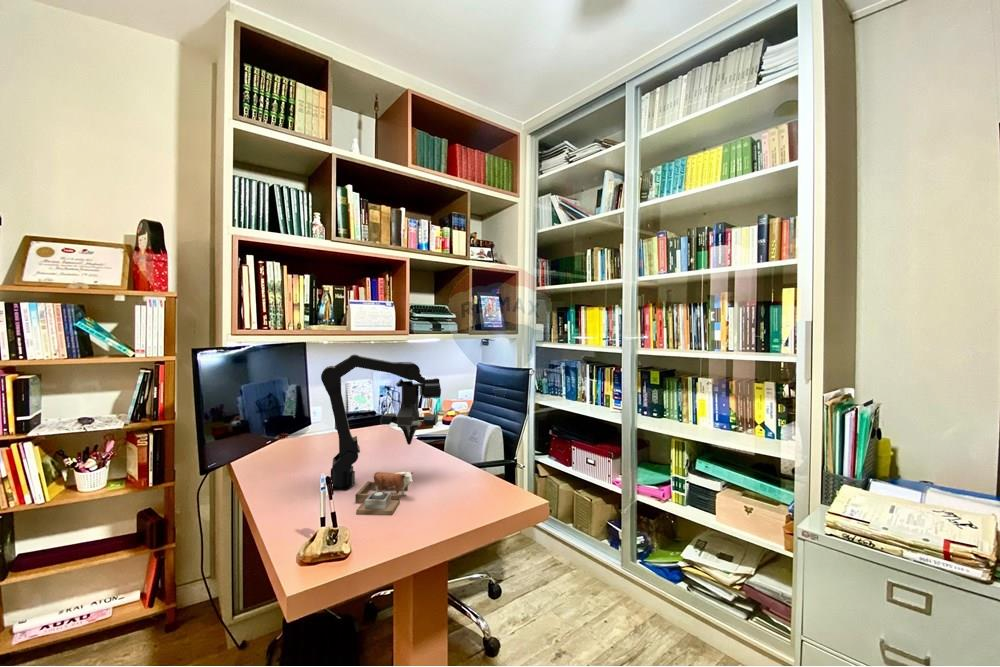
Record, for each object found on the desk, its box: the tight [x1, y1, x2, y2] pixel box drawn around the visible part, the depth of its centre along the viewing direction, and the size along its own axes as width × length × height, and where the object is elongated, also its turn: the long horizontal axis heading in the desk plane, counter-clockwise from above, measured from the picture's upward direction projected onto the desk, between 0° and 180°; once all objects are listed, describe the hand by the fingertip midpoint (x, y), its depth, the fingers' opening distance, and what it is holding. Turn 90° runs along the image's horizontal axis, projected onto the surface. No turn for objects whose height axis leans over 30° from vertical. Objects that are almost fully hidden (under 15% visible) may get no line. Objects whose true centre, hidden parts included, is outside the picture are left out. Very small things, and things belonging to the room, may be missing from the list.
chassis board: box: [354, 480, 409, 516], centre depth 122 cm, size 13×18×4 cm
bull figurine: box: [373, 471, 414, 497], centre depth 126 cm, size 4×13×8 cm, turn 75°
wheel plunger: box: [372, 491, 386, 500], centre depth 117 cm, size 4×4×3 cm
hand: (409, 444), depth 141 cm, fingers closed
